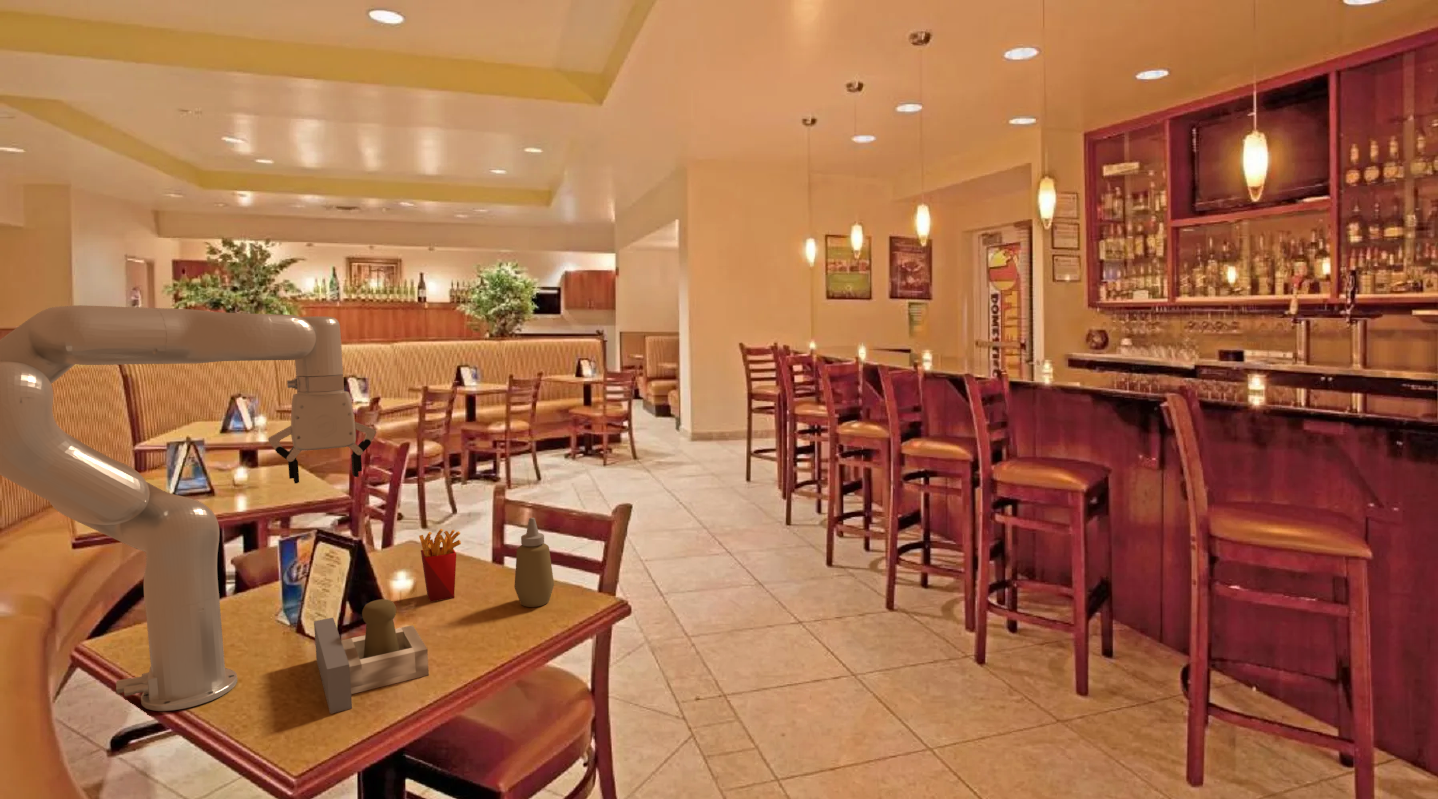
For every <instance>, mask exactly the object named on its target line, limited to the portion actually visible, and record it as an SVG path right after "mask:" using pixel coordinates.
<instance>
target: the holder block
mask: <svg viewBox="0 0 1438 799" xmlns="http://www.w3.org/2000/svg"><path fill="white" fill-rule="evenodd" d="M395 631H396V636H397V641H398V646H399V651H395V652H391V653H386V654H382V655H378V656H373V657H369V658H364V647H365V635H366V634H364V635H360V636H355V637H350V638H345V639H341V642H342V645H343V647H344V650H345V653H346V656H347V659H348V662H349V667H350V683H351V695H353V694H357V693H358V694H359V693H361V692H365V691H369V690H374V689H378V688H382V687H385V686H389V685H394V684H398V683H402V682H406V681H410V680H414V679H418V678H421V677H426V676H429V675H430V674H429V656H428V655H429V654H428V647H427V645H426V644H425V642H424V641H423V639H422V637H421V636H420V634H419V633H418V631H417V629H416V627H415V626H414V625H413V624H412V625H408V626H401V627H398V628H395ZM363 658H364V659H363Z"/></svg>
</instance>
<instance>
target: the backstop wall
mask: <svg viewBox="0 0 1438 799" xmlns="http://www.w3.org/2000/svg"><path fill="white" fill-rule="evenodd" d="M313 627H314V628H313V629H314V642H315V655H316V656H315V658H316V663H317V667H318V671H319V674H320V679H321V683H322V687H323V692H324V694H325V695H324V696H325V699H326V702H327V703H326V704H327V707H328V711H329V714H330V715H331V714H335V713H339V712H344V711H347V710H351V709H352V708H353V702H352V701H353V700H352V694H351V683H350V667H349V662H348V659H347V656H346V653H345V650H344V647H343V645H342V642H341V640H342V639H341V637H340V634H339V630H338V627H337V625H336V621H335V619H334V617H329V618H324V619H318V620H314V621H313Z"/></svg>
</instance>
